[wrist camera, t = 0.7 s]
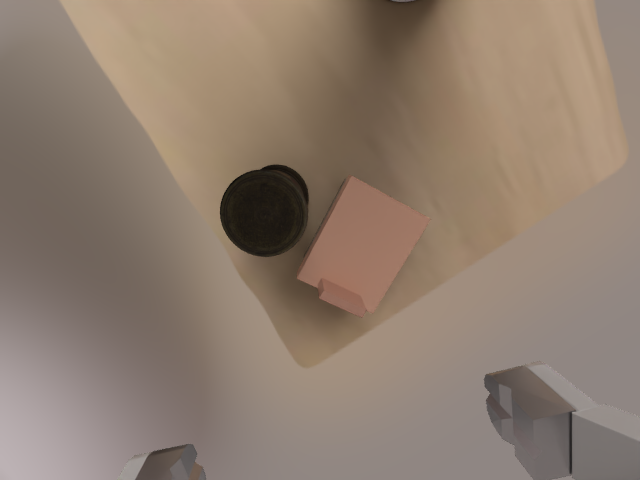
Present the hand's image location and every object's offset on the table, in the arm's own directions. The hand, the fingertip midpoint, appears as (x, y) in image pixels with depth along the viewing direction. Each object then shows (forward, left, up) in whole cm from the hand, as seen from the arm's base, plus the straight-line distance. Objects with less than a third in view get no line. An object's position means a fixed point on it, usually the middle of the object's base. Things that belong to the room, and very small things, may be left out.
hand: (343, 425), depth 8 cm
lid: (0, +8, -33) cm, 34 cm away
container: (0, -5, -40) cm, 40 cm away
